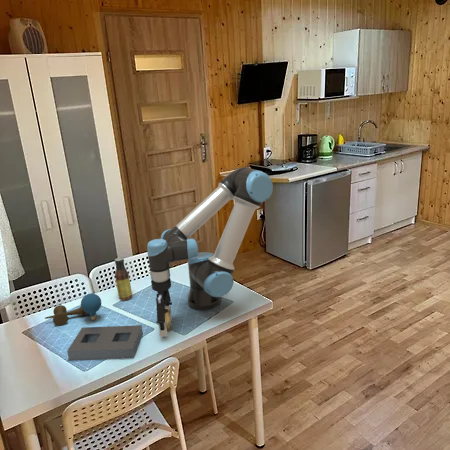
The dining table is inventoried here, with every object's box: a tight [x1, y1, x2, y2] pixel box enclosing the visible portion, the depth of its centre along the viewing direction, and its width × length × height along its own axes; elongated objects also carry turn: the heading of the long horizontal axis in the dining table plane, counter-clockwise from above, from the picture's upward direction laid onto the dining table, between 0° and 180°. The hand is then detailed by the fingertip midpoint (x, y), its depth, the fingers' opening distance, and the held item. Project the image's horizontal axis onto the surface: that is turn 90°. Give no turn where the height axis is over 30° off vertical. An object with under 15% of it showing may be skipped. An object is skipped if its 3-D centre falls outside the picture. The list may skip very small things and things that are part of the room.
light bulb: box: [80, 292, 102, 321], centre depth 183 cm, size 8×8×12 cm
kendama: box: [44, 304, 90, 327], centre depth 186 cm, size 6×10×20 cm
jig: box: [66, 324, 143, 361], centre depth 164 cm, size 24×16×4 cm, turn 89°
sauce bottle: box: [114, 257, 133, 302], centre depth 199 cm, size 6×6×20 cm
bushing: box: [165, 309, 173, 333], centre depth 173 cm, size 4×4×8 cm
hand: (166, 327), depth 174 cm, fingers open, 11 cm apart
